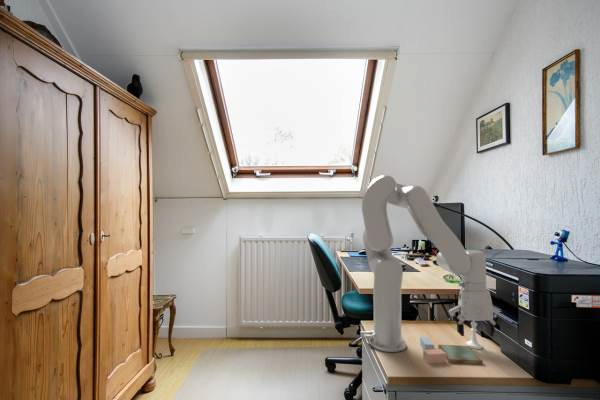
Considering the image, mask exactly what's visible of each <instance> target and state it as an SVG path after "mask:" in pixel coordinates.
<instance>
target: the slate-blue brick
mask: <svg viewBox="0 0 600 400" xmlns="http://www.w3.org/2000/svg"><path fill="white" fill-rule="evenodd" d="M419 341H420V343H419V345H420V347H421V350H432V349H435V344H434V343H433V341H432V340H431V338H430V337H429V336H420V338H419Z"/></svg>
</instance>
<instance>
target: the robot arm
mask: <svg viewBox="0 0 600 400" xmlns="http://www.w3.org/2000/svg"><path fill="white" fill-rule="evenodd" d="M361 200H362V201H361V213H362V218H363V223H364V230H363V234H362V239H363V240H362V241H363V245H364V249H365V254H366V258H367V262H368V266H369V269H370V272H372V273H373V278H374V279H373V290H372V291H373V294H372V295H373V296H372V297H373V298H372V299H373V327H371V330H370V329H369V331H368V330H360V337H364V339H365V340H368V342H369V345H370V346H371V347H372V348H374V349H376V350H378V351H381V352H386V353H398V352H402V351H404V350H405V349H406V348H407V341H406V340H405V339H404V338H402V285H403V275H404V272H403V267H402V265H401V263H400V261H399V259H397V258H396V257H395V256H393V253H392V250H391V248H392V246H393V244H394V236H393V233H392V229H391V225H390V220H389V218H388V217H389V216H388V209H387V206H388V205H392V206H396V207H398V208H399V207H400V208H403V209H407V211H408V213H409V215H410V216H411V218H412V220H413V222H414V223H415V225H416V227H417V229H418V231H419V232H420V233H421V234H422V235H423V236H424V238H426V239H428V241H430V243H432V244H433V246H435V247H436V249H437V250H438V251H439V252H438V253H437V254H436V256H435V257H436V258H435V261H436V264H437V265H438V266H439V267H440V268H441V269H443V270H444V271H447V272H448V273H451V274H453V275H455V276H459V277H460V276H461V281H460V282H458V283H457V286H458V287H460V289H459V294H458V302H457V304H458V305H456V306H454V307H452V308H450V309H449V310H448V313H449V314H450V315H449V316H450V317H451V318H452V319H453V321H455V322H456V331H457V333H458V334H460V336H461V337H464V336H465V326H464V322H465V321H472V320H477V321H485V322H486V333H487V335H489V336H490V337H492V338H493V337H494V334H495V325H497V323H498V321H499V320H498V318H497V315H496V314H498V313H499V312H502V311H501V310H499V309H497V308H496V307H494V306H493V301H492V297H491V293H490V290H488V289H487V267H486V266H487V261H486V259H487V258H486V254H485V252H483V251H481V250H475V249H465V247H464V246H463V244H462V241H460V240H459V238H458V237H457V235H456V234H455V233H454V232H453V231H452V230H451V228H450V227H449V226H448V225H447V224H446V223H445V221H444V220H443V218H442V217H441V215H440V213H439V212H438V210H437V208H436V206H435V205H434V203H433V201H432V199H431V197H430V196H429V194H428V193H427V191H426V190H425V188H424V187H422V186H420V185H404V184H401V183H397V181H396V180H395V178H394V177H392V175H391V176H390V175H386V174H382V175H379V176H377V177H375V178H373V179H372V180H371V181H370V182H369V184H368V186H367V188H366V190H365V192H364V194H363V197H362V199H361ZM456 313H458V315H457V316H456ZM495 313H496V314H495Z"/></svg>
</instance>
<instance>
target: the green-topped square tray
mask: <svg viewBox="0 0 600 400" xmlns="http://www.w3.org/2000/svg"><path fill="white" fill-rule="evenodd" d="M437 346H438V348H437V349H441V350H442V351H444V352H445V353H446V362H448V363H449V364H450V363H451V364H466V365H467V364H469V365H483V360H482V358H481V357H480V356H479V355H478V354H477V353H476V352H475V351H474V349H473V348H470V347H469V346H467V345H460V344H459V345H458V344H457V345H456V344H454V345H453V344H437Z"/></svg>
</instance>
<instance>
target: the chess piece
mask: <svg viewBox="0 0 600 400" xmlns="http://www.w3.org/2000/svg"><path fill="white" fill-rule="evenodd" d="M476 321H477V320H471V322H470V325H471V328H470V330H471V331H472V332H471V333H472V334H471V339H470V340H468V341H466V343H465V346H469V347H470V348H471V349H472V350H474V349H475V350H481V349H482V348H483V344H482V343H480V342H478V340H477V334H476V332H478V329H477V326H478V323H477V322H476Z"/></svg>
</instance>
